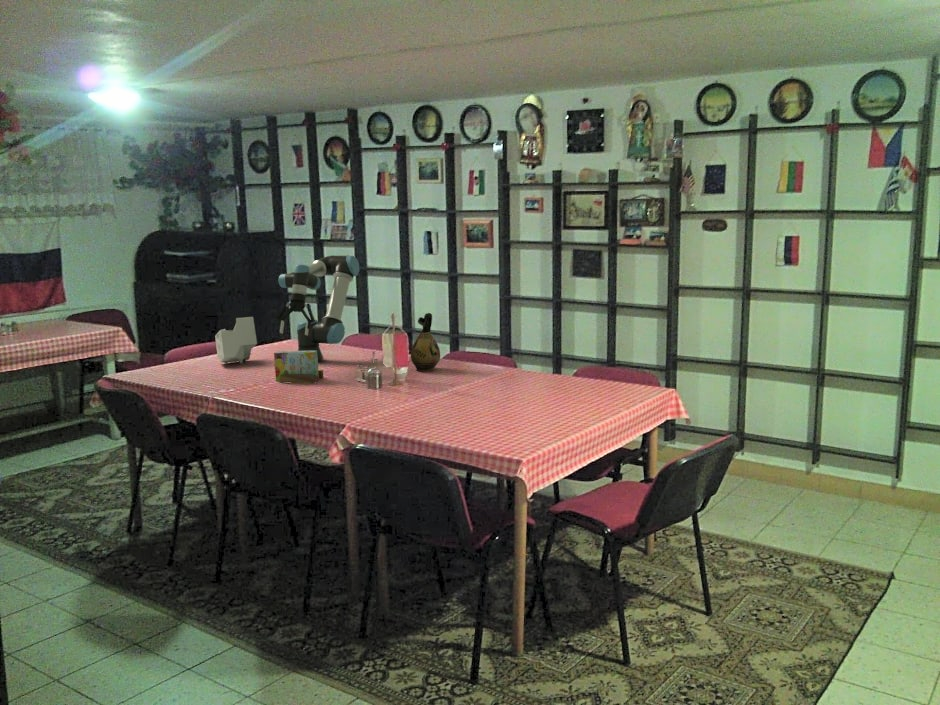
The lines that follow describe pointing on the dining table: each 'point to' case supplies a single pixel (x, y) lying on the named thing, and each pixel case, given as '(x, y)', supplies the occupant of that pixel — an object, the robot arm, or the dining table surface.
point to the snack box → (296, 363)
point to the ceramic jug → (425, 347)
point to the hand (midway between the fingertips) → (293, 334)
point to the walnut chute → (300, 377)
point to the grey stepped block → (236, 341)
